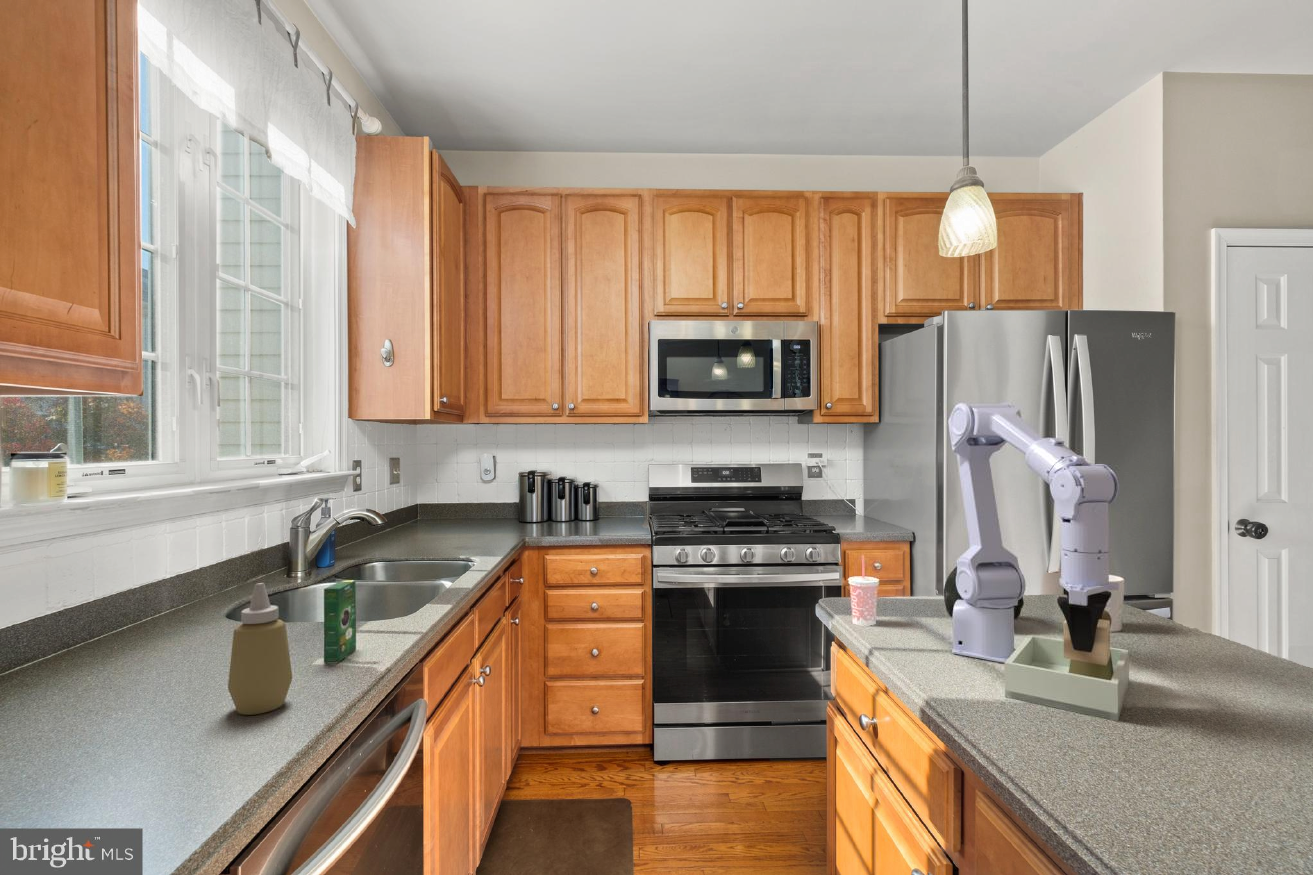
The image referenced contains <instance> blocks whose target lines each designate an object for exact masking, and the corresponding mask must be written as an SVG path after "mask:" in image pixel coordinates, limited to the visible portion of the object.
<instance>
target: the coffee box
mask: <svg viewBox="0 0 1313 875" xmlns="http://www.w3.org/2000/svg"><path fill="white" fill-rule="evenodd" d="M356 594H357V592H356V580H355V579H346V580H345V579H343V580H340V581H338V582H335V583H334V584H331V585H330V586H327V587H325V588H323V664H326V663H328V664H329V663H330V664H338V663H340V662H341V661H344V659H345V658H346V657H348V656H349V655H350V654H352V653H353V652H354V651H355V650H356V649H357V614H356V613H357V609H356V608H357V606H356V605H357V604H356V601H357V598H356Z"/></svg>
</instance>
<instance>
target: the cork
mask: <svg viewBox="0 0 1313 875" xmlns="http://www.w3.org/2000/svg"><path fill="white" fill-rule="evenodd" d="M1101 620H1108V621H1110V627H1111V622H1112V619H1111V616H1110V614H1109V613H1108V612H1107V611H1106V610H1104V611H1103V615H1102V619H1101ZM1069 673H1072V674H1077V675H1083V676H1088V677H1094V678H1099V679H1105V680H1110V681H1111V679H1112V676H1113V674H1114V671H1113V664H1112V658H1111V652H1110V657H1109V660H1108V663H1107V665H1101V664H1095V663H1090V662H1084V661H1078V660H1072V659H1070V666H1069Z"/></svg>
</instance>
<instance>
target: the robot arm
mask: <svg viewBox="0 0 1313 875" xmlns="http://www.w3.org/2000/svg"><path fill="white" fill-rule="evenodd" d="M948 429H949V438H950V443H951V449H952V451H953V452H954V453H956V459H957V460H956V461H957V466H958V472H959V474H958V475H959V481H960V487H961V496H962V501H963V508H964V515H965V517H964V518H965V522H966V529H967V536H968V543H969V544H968V545H969V548H968V549H967V550H966V551H964V553H963V554H961V555H960V556H959V557H958V558H957V559H956V566H957V575H956V587H957V590H958V592H959V594H960V596H961V597H962V598H963V599H964V600H957V601H956V602H955V605H954V609H953V618H952V650H951V653H952V654H955V655H960V656H967V657H970V658H976V659H983V660H986V661H992V662H998V663H1004V664H1005V662H1006V661H1007V659H1008V658H1009V657H1010V656H1011V655H1012V654H1013V652H1014V651H1015V650H1016V649H1017V648H1015V620H1014V606H1015V605H1018V600H1020V599H1021V598H1022V597H1023V596H1024V595H1025V591H1026V587H1027V585H1026V579H1025V575H1024V574H1023V572H1022V570H1021V568H1020V565H1019V560H1018V556H1016V555H1015V554H1014V553H1012V552H1011V551H1010V550H1008V549H1007V548H1006V547H1004V545H1003V541H1002V533H1001V532H1002V531H1001V526H1000V521H999V520H1000V519H999V514H998V508H997V501H996V495H995V488H994V482H993V476H992V469H991V462H990V458H991V457H992V456H993V454H994V453H996V452H999V451H1000V450H1001V449H1003V447H1004V446H1005V445H1006V444H1007V443H1008V444H1009V445H1011V446H1012V447H1013V448H1015V449H1017V450H1018V451H1019V452H1021V453H1022V454H1024V455H1025V458H1024V460H1025V464H1026V466H1027V467H1028V468H1029V469H1030V470H1032V471H1033V473H1035V474H1036V475H1037V476H1039V477H1040V478H1041V479H1042V480H1044V482H1046V483H1047V484H1048V485H1049V490H1050V491H1049V492H1050V494H1051V496H1052V499H1053V500H1054V504H1055V513H1056V514H1057V517H1059V518H1060V577H1059V580H1058V581H1059V585H1060V586H1061V587H1062V588H1063V589H1065V591H1064V593H1065V595H1066V596H1057V599H1056V602H1057V605H1058V607H1059V609H1060V610H1061V612H1062V615H1063V616H1064V619H1065V620H1066V622H1067V625H1068V629H1069V633H1070V638H1071V642H1072V646H1073V648H1074V650H1078V651H1084V652H1091V651H1092V649H1093V646H1094V641H1095V635H1096V629H1097V625H1098V621H1099V619H1102V615H1103V611H1104V609H1105V607H1106V604H1107V602H1108V600H1109V599H1110V597H1111V592H1109V591H1108V590H1119V584H1118V583H1112V582H1109V575H1110V573H1109V570H1110V568H1109V562H1110V560H1109V559H1110V558H1109V555H1110V554H1109V544H1110V543H1109V505H1110V504H1113V503H1114V501H1115V500H1116V499H1117V498H1118V495H1119V490H1120V486H1119V480H1118V477H1117V474H1116V473H1115V472H1114V471H1113V470H1112V469H1111V468H1110V467H1109V465H1106V464H1105V463H1104V464H1103V463H1102V464H1101V463H1097V464H1093V463H1092V462H1091V463H1089V462H1088V461H1086V458H1085V457H1084V456H1082V455H1080V454H1079V455H1078V454H1077V453H1076V452H1074V451H1073V450H1072V449H1070V448H1069V447H1068V446H1066V445H1065V441H1064V440H1063V439H1061V438H1060V437H1042V436H1041V435H1040V434H1039V433H1038V432H1037V431H1036V430H1035V429H1033V428H1032V427H1031V425H1029V424H1028V423H1027V422H1026V421H1025V420H1024V419H1023V418H1022V413H1021V409H1019V408H1017V407H1015V406H1014V405H1013V403H1010V402H1002V403H965V402H960V403H957V404H956V405H955V406H954V407H953V410H952V411H951V414H950V415H949V418H948ZM979 563H995V564H996V565H991V566H977V565H978V564H979ZM1023 598H1024V597H1023Z"/></svg>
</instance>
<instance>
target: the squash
mask: <svg viewBox="0 0 1313 875" xmlns="http://www.w3.org/2000/svg"><path fill="white" fill-rule="evenodd" d="M991 565H997V564H995V563H979V564H978V565H977V566H991ZM956 575H957V565H956V566H955V567H954V568H953V570H952V571H951V572H950V573H949V574H948V576H947V578H946V581H945V583H944V587H943V597H944V598H943V602H944V606H945V610H946V612H947V614H948V615H949V616H950V617H951V618H952V619H953V609H954V605H955V602H956V601H957V600H964V599H963V598H962V597H961V596H960V594H959V592H958V590H957V587H956ZM1024 602H1025V601H1024V597H1022V598H1021V599H1020V600H1018V605H1015V606H1014V621H1015V620H1016V619H1018V618H1019V616H1020V615H1021V612H1022V608H1023V607H1024V605H1025V603H1024Z"/></svg>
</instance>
